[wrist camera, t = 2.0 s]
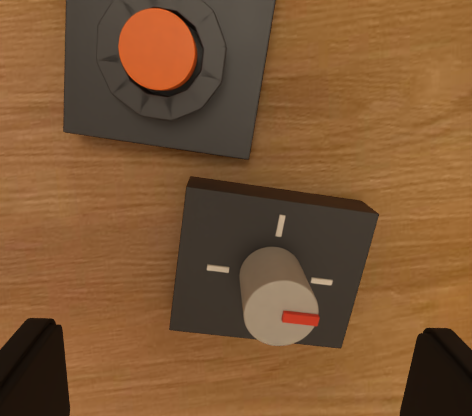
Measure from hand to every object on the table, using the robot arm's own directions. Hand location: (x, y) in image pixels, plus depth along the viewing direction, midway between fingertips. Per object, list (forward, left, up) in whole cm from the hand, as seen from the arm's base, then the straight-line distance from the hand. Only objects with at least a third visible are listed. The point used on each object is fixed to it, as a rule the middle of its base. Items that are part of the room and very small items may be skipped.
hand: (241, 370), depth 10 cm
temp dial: (+3, -4, -13) cm, 14 cm away
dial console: (+3, -4, -16) cm, 17 cm away
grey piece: (-5, +8, -16) cm, 19 cm away
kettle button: (-5, +8, -13) cm, 16 cm away
